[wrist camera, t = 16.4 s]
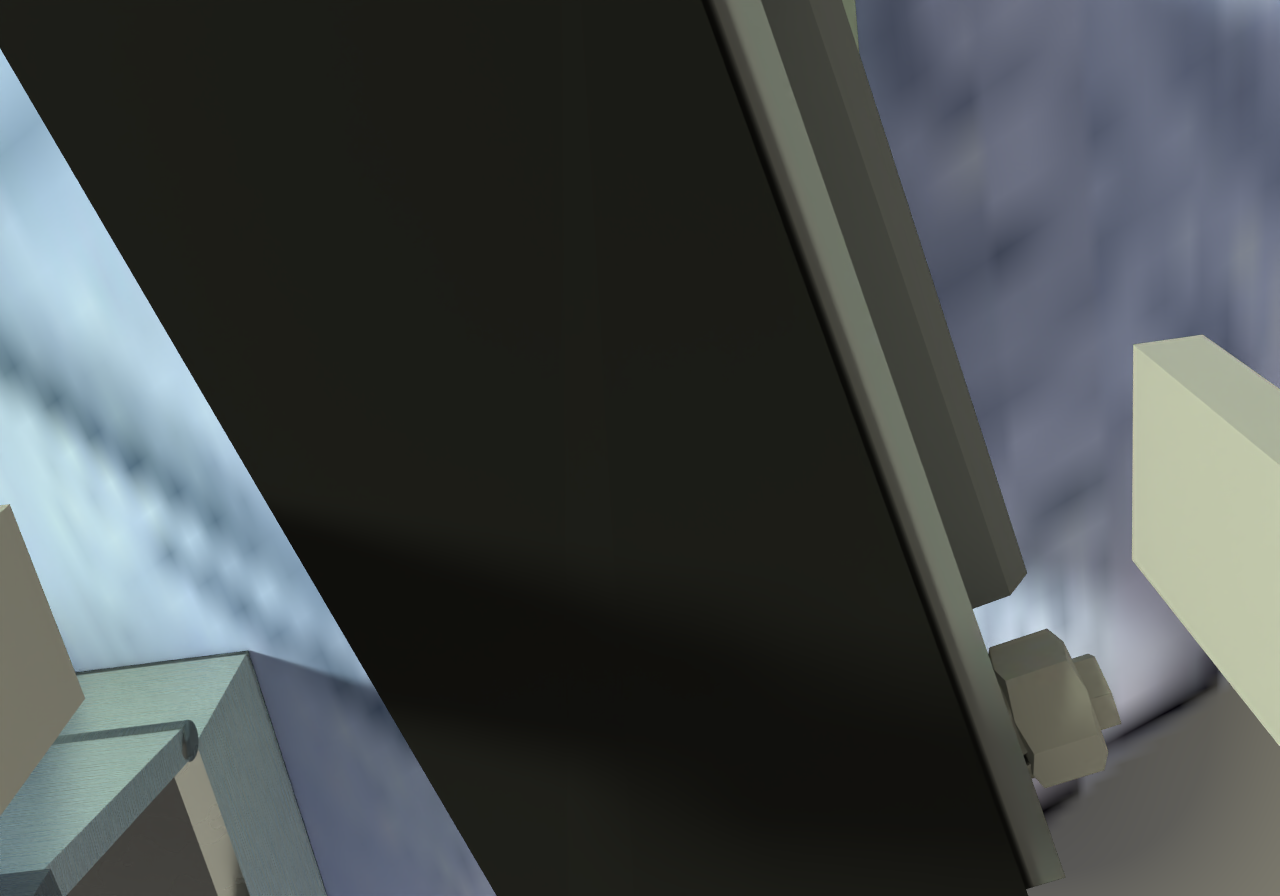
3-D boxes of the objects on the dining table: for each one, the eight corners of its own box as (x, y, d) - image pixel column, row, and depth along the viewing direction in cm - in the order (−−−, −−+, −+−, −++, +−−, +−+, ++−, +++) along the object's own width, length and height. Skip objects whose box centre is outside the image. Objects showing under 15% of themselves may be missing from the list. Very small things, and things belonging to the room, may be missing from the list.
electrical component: (913, 392, 36) (1183, 872, 18) (596, 508, 38) (542, 1059, 19) (698, -234, 30) (773, -498, 11) (329, -63, 31) (-128, -54, 13)
